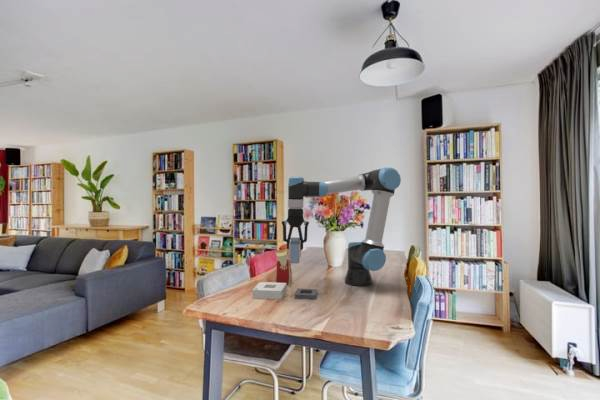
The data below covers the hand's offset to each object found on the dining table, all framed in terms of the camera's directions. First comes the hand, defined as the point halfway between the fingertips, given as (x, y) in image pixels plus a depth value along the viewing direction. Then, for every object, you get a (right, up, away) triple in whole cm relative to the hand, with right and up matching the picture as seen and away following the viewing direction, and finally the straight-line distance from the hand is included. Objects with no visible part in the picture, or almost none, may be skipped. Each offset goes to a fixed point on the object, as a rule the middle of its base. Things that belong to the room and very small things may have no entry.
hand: (294, 256), depth 144 cm
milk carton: (-7, -20, +20) cm, 29 cm away
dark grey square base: (+6, -19, -1) cm, 20 cm away
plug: (0, -3, 0) cm, 3 cm away
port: (-12, -19, +2) cm, 23 cm away
